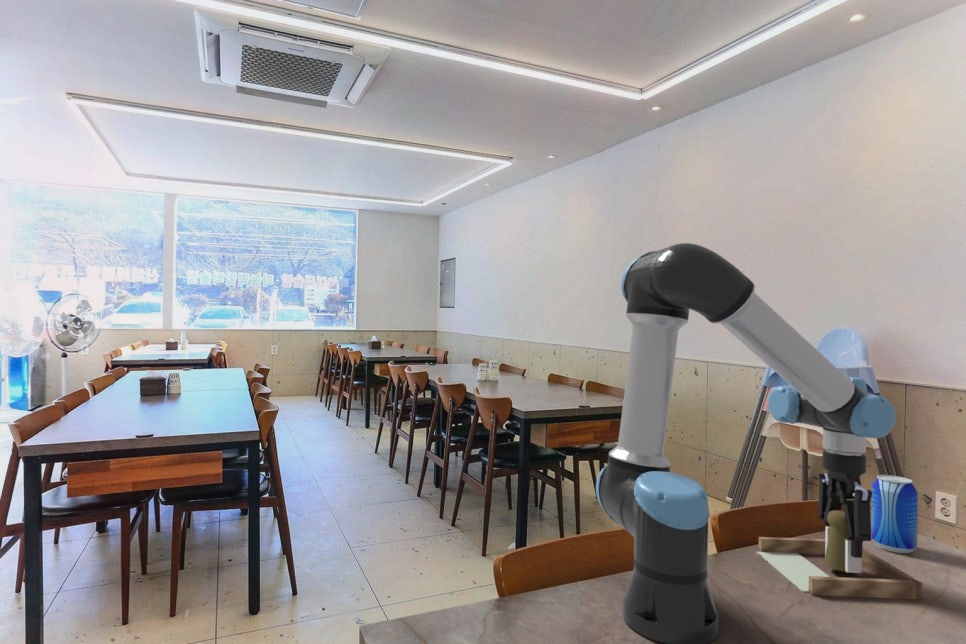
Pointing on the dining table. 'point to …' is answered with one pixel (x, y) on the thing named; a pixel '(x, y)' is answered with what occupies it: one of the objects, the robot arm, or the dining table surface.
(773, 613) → the dining table surface
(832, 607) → the dining table surface
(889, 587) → the bay
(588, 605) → the dining table surface
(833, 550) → the olive chess pawn
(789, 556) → the front pad
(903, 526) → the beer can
